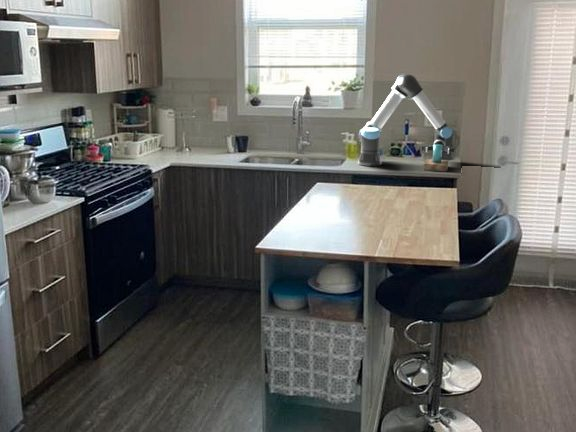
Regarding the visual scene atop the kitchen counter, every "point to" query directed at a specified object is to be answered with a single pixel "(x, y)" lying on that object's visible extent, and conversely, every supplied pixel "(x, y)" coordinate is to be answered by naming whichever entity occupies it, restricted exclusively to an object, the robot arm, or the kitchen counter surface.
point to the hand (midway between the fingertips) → (437, 151)
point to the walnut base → (436, 165)
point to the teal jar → (437, 153)
